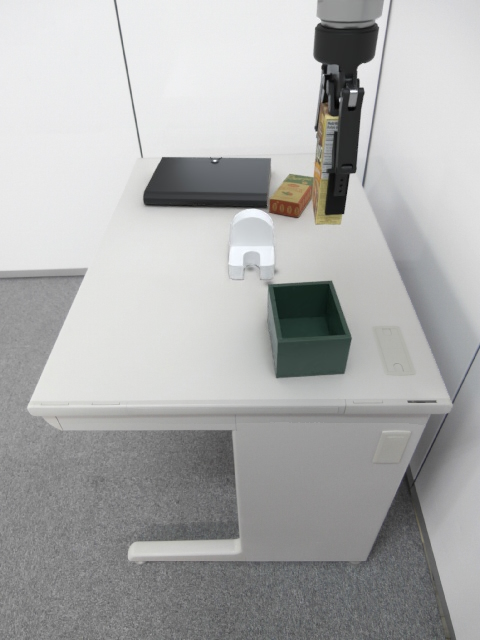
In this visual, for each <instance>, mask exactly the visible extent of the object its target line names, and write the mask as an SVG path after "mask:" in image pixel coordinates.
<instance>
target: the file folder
mask: <svg viewBox="0 0 480 640" xmlns="http://www.w3.org/2000/svg"><path fill="white" fill-rule="evenodd" d="M271 171H272V158H271V157H222V156H220V157H211V156H210V157H208V156H207V157H205V156H204V157H201V156H200V157H198V156H194V157H193V156H192V157H191V156H190V157H189V156H162V157H161V158H160V161H159V162H158V164H157V166H156V168H155V170H154V172H153V174H152V175H151V177H150V179H149V181H148V183H147V185H146V187H145V189H144V191H143V195H142V201H143V204H144V205H158V206H159V205H160V206H161V205H164V206H165V205H166V206H207V207H209V206H211V207H215V206H216V207H257V208H258V207H259V208H260V207H263V208H264V207H265V208H267V207H268V205H269V195H270V194H269V192H270V183H271V173H272V172H271Z"/></svg>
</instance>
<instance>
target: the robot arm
mask: <svg viewBox="0 0 480 640" xmlns="http://www.w3.org/2000/svg"><path fill="white" fill-rule="evenodd" d="M384 3H385V0H317V1H316V13H315V16H316V18H317V19H318V20H319V21H320V22H318V23H317V24H316V26H315V27H314V36H313V48H312V56H313V59H314V60H315V61H316V62H318V63H320V64H321V65H320V70H321V71H320V72H321V74H320V75H321V76H320V85H319V91H318V92H319V93H318V99H317V108H316V116H315V122H314V127H313V128H314V132H315V133H316V135H315V138H316V139H317V135H318V124H319V114H320V103H321V101H322V103H327V102H328V114H329V115H330V116H333V117H337V116H339V117H338V132H337V131H334V137H333V147H332V167H331V168H329V169H326V172H327V174H329V177H328V186H327V195H326V204H325V215H339V214H342V215H345V212H346V206H347V199H348V191H349V184H350V177H351V175H352V174H356V173H357V170H358V166H357V165H358V156H359V155H358V153H359V143H360V142H359V141H360V129H361V117H362V109H363V103H364V97H365V93H366V91H365V88H364V87H363V86H360V84H361V81H360V78H358V68H359V67H360V66H361V65H363V64H367V63H370V62H371V61H373V60H374V58H375V56H376V51H377V46H378V45H377V44H378V39H379V32H380V26H379V24H378V23H377V22H376V21H378V20H379V19H380V18H382V17H383V11H384V10H383V9H384ZM336 109H339V110H336ZM315 146H317V144H316V145H315Z"/></svg>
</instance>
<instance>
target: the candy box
mask: <svg viewBox="0 0 480 640" xmlns="http://www.w3.org/2000/svg"><path fill="white" fill-rule="evenodd" d="M336 110H339V109H336ZM338 117H339V116H337V117H333V116H330V115H329V114H328V102H327V103H322V101H321V103H320V114H319V124H318V135H317V138H316V145H317V146H316V145H315V146H316V147H315V158H314V166H313V177H314V178H313V189H312V198H311V203H312V211H313V219H314V224H315V225H317V226H320V225H322V226H323V225H326V226H327V225H328V226H329V225H330V226H331V225H333V226H335V225H336V226H338V225H339V226H340V225H341V224H342V220H343V219H342V218H343V214H339V215H325V204H326V195H327V186H328V177H329V174H327V172H326V169H329V168H331V167H332V147H333V137H334V131H337V132H338Z"/></svg>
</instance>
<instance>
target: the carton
mask: <svg viewBox="0 0 480 640" xmlns="http://www.w3.org/2000/svg"><path fill="white" fill-rule="evenodd" d="M313 178H314V176H309V175H301V174H294V173H289V174H288V175H287V176H286V177H285V179H284V180H283V181H282V183H281V184H280V185H279V186H278V188H277V189H276V190H275V191H274V193H273V194H272V195H271V196H270V197H269V198H268V213H272V214H277V215H282V216H286V217H291V218H299V217H300V216H301V215H302V213H303V212H304V210H305V208H306V207H307V205H308V204H309V203H310V201H312V189H313Z"/></svg>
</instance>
